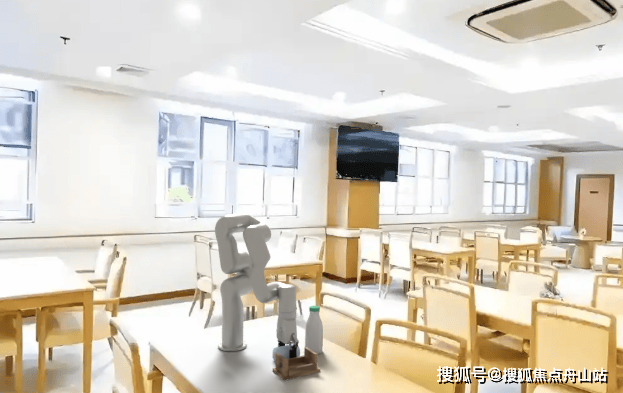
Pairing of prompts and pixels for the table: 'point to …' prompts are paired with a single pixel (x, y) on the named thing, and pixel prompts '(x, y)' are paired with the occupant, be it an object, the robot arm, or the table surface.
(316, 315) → the milk bottle
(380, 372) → the table surface
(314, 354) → the holder
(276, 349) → the cylinder
